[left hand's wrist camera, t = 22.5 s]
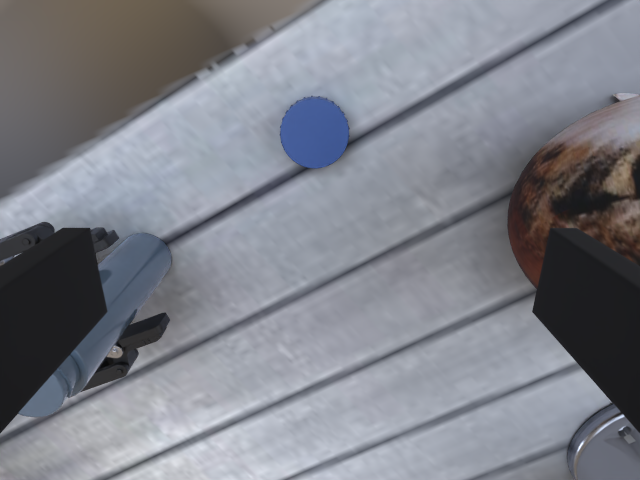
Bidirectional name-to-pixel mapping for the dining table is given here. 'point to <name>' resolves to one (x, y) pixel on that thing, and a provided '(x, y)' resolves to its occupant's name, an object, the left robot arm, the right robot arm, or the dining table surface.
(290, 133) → the lid
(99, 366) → the right robot arm
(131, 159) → the dining table surface
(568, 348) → the left robot arm
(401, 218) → the dining table surface
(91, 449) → the dining table surface
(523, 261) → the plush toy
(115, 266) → the blue-grey bottle
